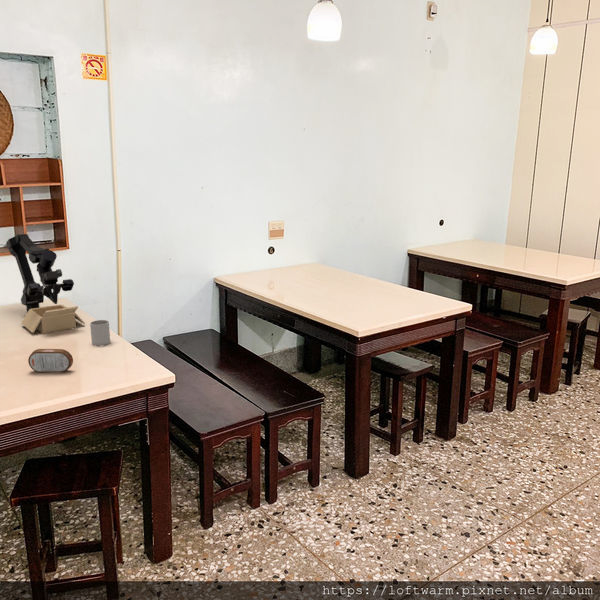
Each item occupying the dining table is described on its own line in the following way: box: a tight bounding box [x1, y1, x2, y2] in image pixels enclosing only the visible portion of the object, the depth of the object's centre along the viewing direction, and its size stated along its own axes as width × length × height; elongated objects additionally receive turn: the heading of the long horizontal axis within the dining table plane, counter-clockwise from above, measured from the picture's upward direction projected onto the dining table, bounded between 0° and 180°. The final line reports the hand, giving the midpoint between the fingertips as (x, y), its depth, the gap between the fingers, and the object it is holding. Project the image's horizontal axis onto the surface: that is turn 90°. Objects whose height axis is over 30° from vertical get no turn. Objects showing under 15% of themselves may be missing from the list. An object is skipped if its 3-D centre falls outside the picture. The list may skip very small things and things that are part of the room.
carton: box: [21, 304, 86, 335], centre depth 268 cm, size 22×22×7 cm
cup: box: [89, 319, 111, 347], centre depth 245 cm, size 7×10×9 cm
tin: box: [27, 348, 74, 374], centre depth 212 cm, size 15×3×8 cm, turn 92°
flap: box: [42, 305, 79, 318], centre depth 256 cm, size 7×13×1 cm
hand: (56, 303), depth 258 cm, fingers closed
